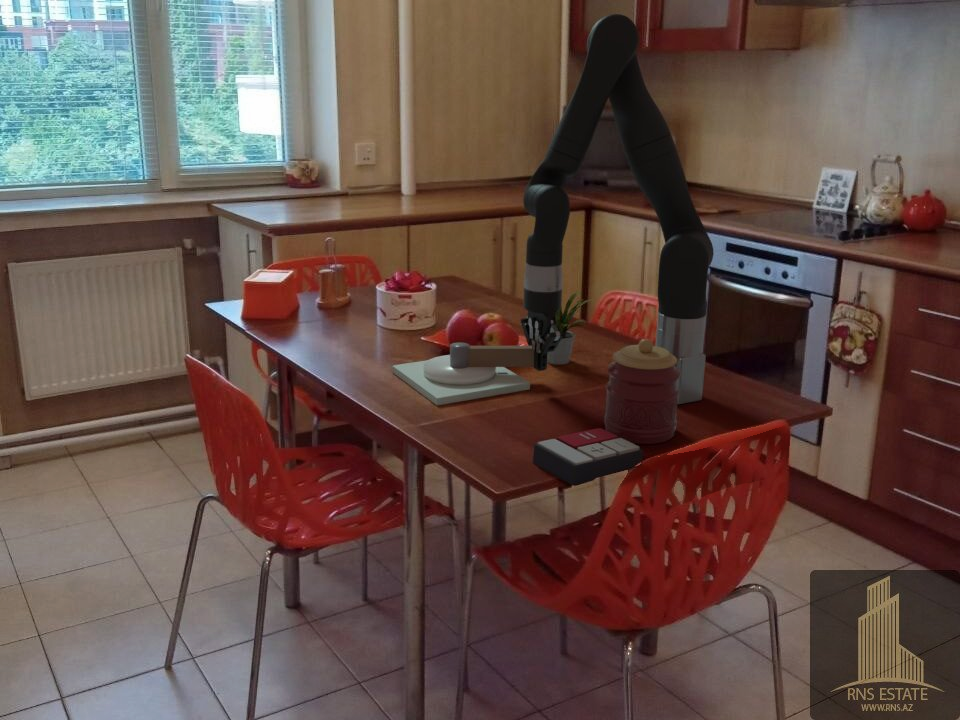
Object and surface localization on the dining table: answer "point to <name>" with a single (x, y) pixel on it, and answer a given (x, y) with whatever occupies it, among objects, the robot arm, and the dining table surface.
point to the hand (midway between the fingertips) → (539, 369)
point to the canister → (642, 394)
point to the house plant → (565, 333)
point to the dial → (476, 363)
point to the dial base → (456, 393)
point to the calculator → (586, 455)
